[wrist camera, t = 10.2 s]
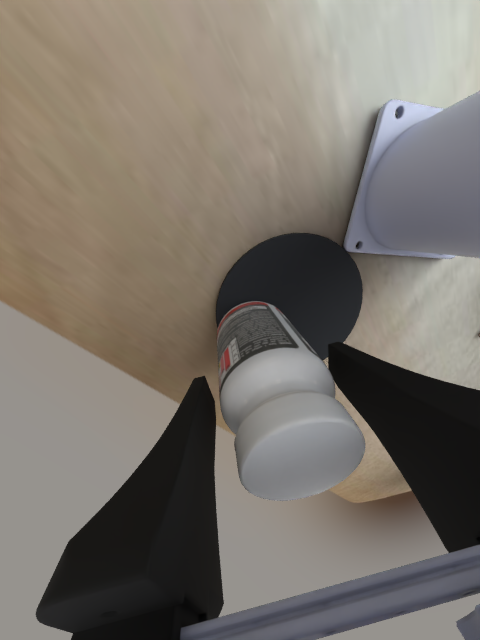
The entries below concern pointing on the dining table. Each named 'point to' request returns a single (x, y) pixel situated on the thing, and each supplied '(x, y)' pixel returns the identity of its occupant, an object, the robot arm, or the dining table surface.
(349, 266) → the mat
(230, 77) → the dining table surface
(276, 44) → the dining table surface
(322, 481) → the pill bottle
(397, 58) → the dining table surface
